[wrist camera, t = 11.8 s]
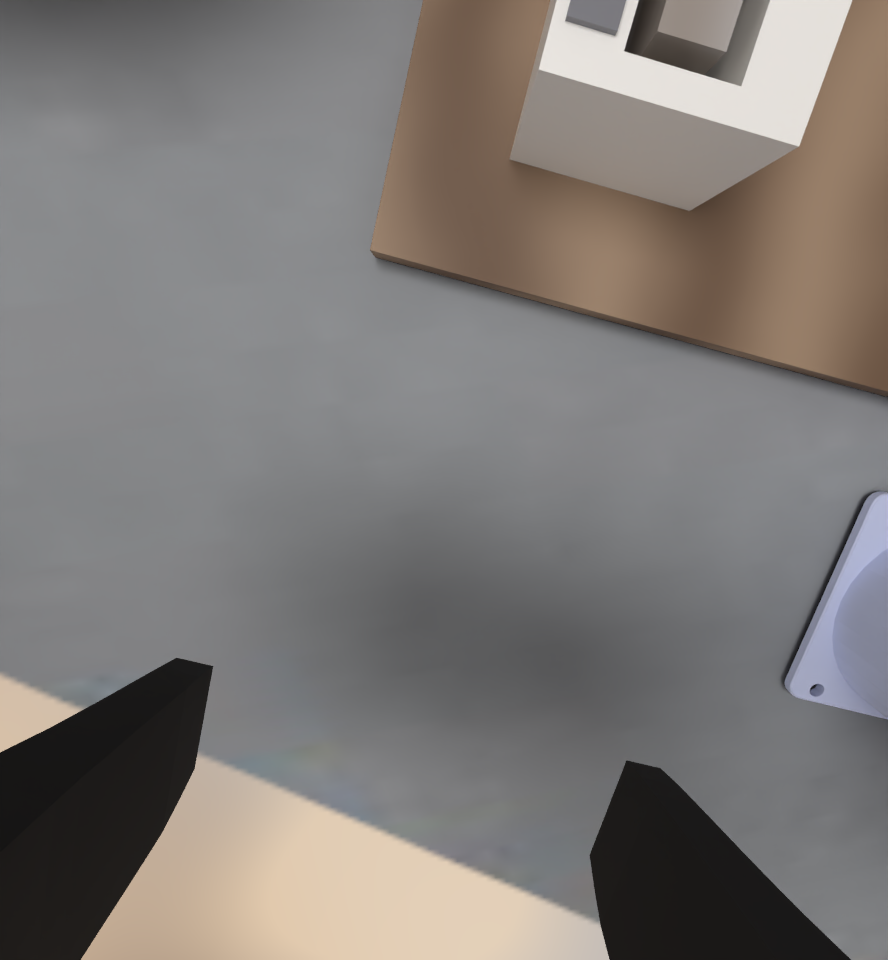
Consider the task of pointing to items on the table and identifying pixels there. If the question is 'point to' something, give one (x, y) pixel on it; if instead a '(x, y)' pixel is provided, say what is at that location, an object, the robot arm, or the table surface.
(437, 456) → the table surface
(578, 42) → the cube with recessed slot
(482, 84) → the base
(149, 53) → the table surface
